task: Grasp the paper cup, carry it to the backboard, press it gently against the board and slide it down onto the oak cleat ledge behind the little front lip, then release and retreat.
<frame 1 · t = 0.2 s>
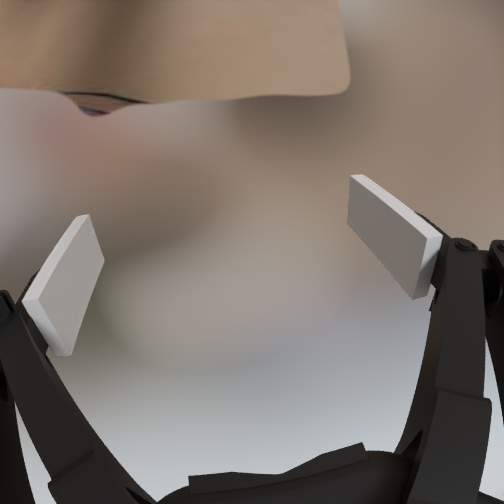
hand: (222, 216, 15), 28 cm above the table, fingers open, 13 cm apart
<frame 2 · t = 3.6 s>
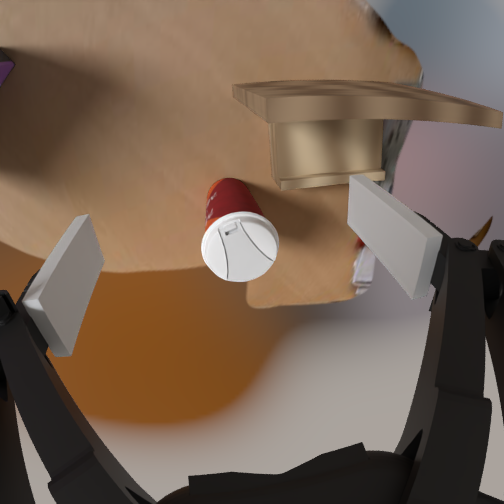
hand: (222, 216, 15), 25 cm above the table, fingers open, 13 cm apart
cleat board: (320, 85, 35), on the table
paper cup: (228, 197, 42), on the table
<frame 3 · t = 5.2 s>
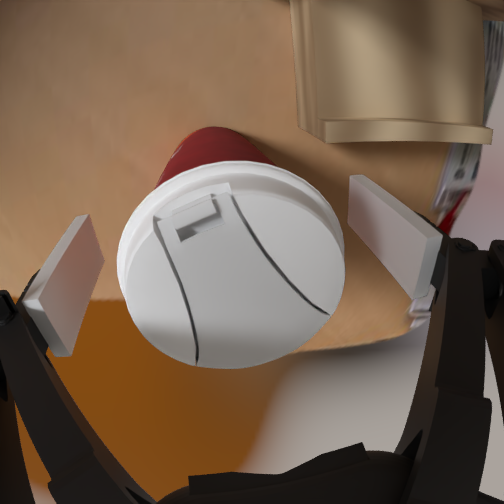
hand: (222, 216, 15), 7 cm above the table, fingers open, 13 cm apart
paper cup: (213, 165, 21), on the table
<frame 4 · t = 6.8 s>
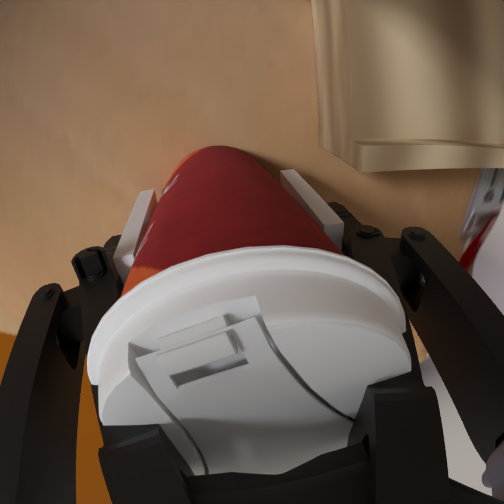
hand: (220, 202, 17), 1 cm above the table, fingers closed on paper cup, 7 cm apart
paper cup: (217, 192, 18), on the table, touching gripper
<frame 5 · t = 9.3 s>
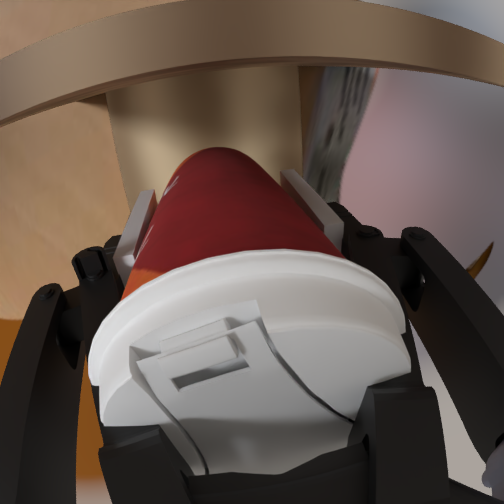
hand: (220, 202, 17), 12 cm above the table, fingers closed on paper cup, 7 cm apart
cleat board: (199, 64, 22), on the table
paper cup: (218, 193, 18), point 10 cm above the table, touching gripper
when the fingers open (7 cm above the table, at t = 12.0 s): paper cup drops 1 cm, resting on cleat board.
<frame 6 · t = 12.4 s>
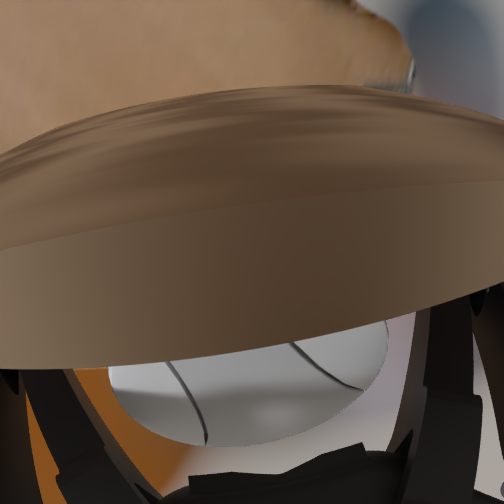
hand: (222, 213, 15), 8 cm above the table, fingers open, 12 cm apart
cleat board: (206, 104, 20), on the table
paper cup: (214, 183, 19), point 4 cm above the table, touching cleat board
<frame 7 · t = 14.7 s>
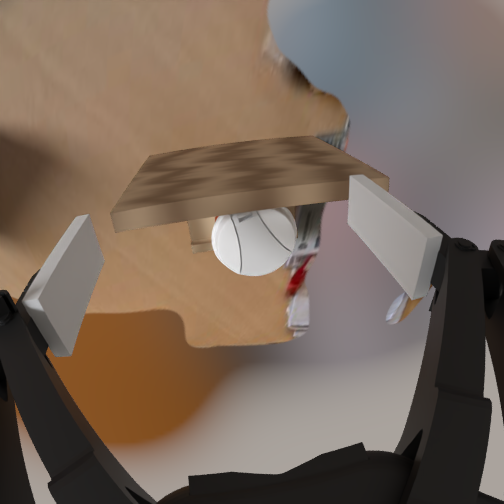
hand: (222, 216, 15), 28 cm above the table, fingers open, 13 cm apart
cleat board: (232, 148, 40), on the table
paper cup: (238, 189, 39), point 4 cm above the table, touching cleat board
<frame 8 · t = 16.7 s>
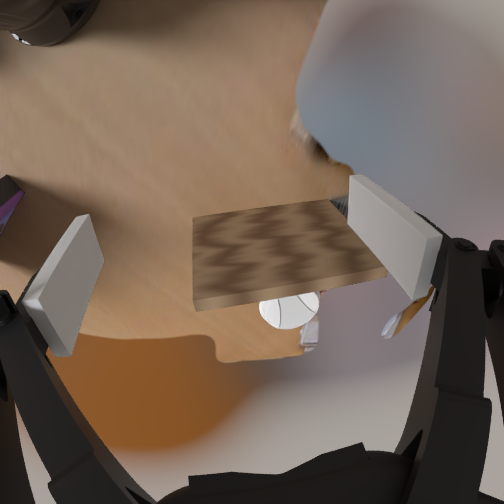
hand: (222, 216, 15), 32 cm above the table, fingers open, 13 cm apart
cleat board: (262, 212, 50), on the table
paper cup: (268, 249, 50), point 4 cm above the table, touching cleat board
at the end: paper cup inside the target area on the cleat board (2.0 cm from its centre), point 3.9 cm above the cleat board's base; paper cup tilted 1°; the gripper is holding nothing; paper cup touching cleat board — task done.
